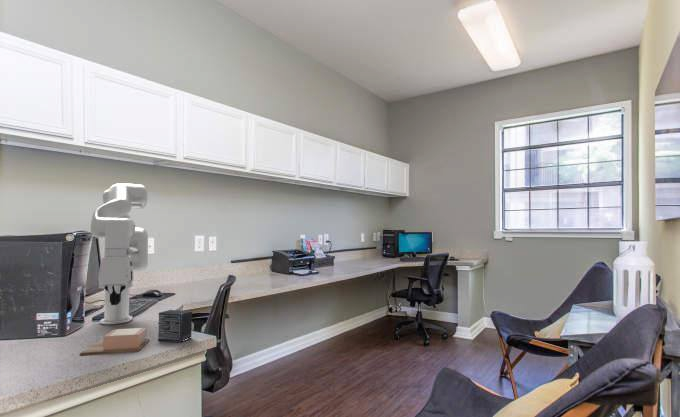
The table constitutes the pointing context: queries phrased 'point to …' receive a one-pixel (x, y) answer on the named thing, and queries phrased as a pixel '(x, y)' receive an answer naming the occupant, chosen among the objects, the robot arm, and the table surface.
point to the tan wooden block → (124, 338)
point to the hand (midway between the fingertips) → (115, 304)
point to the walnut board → (98, 349)
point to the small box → (174, 325)
